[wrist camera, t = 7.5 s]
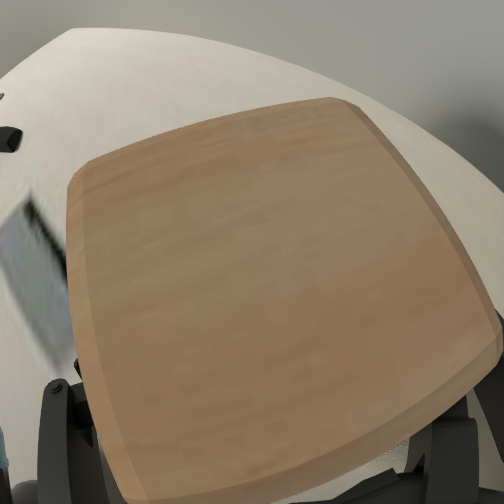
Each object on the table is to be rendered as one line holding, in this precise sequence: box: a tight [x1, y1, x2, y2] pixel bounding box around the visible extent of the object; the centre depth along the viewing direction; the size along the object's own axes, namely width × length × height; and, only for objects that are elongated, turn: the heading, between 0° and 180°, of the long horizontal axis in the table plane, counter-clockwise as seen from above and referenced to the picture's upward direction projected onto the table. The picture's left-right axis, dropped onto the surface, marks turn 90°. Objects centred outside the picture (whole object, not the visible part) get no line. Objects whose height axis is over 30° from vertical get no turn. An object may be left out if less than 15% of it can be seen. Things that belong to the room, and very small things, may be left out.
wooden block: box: [66, 97, 503, 504], centre depth 15 cm, size 10×10×20 cm
